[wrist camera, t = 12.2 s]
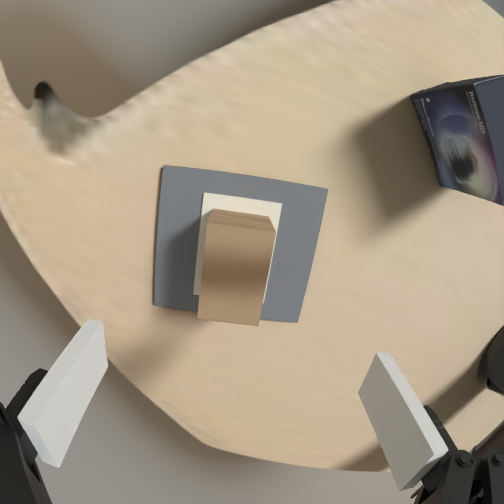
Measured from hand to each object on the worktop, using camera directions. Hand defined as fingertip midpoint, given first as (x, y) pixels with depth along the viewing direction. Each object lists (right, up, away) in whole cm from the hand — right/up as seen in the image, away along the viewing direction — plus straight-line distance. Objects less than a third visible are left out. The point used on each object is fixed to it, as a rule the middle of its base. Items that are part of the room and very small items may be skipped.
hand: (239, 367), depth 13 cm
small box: (+21, +18, +13) cm, 31 cm away
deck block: (-1, +5, +15) cm, 16 cm away
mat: (-1, +6, +16) cm, 17 cm away
